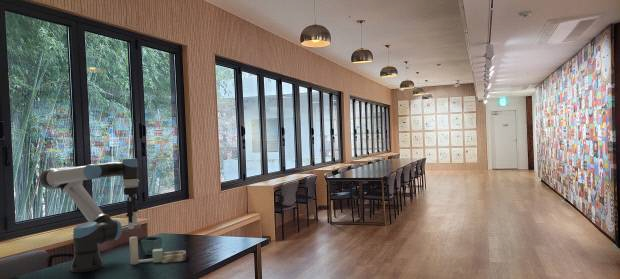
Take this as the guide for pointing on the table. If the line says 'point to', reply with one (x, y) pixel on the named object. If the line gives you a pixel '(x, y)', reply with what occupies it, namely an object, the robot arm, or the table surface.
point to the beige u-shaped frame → (174, 256)
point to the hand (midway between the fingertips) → (132, 226)
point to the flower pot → (151, 244)
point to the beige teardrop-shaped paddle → (134, 253)
